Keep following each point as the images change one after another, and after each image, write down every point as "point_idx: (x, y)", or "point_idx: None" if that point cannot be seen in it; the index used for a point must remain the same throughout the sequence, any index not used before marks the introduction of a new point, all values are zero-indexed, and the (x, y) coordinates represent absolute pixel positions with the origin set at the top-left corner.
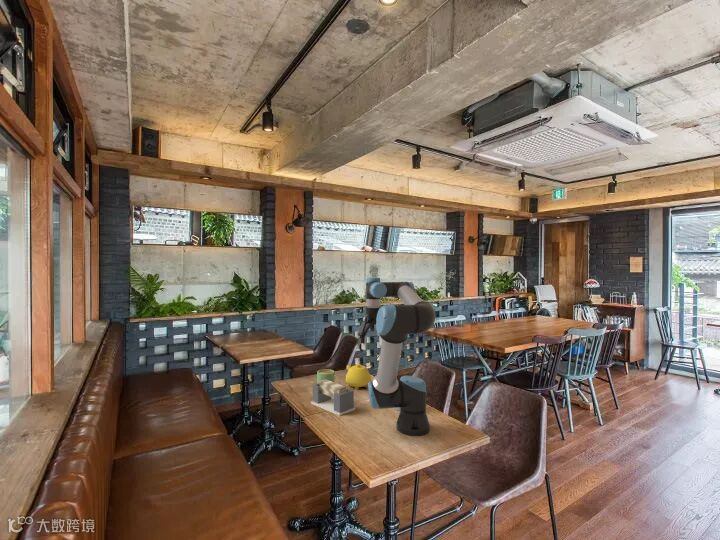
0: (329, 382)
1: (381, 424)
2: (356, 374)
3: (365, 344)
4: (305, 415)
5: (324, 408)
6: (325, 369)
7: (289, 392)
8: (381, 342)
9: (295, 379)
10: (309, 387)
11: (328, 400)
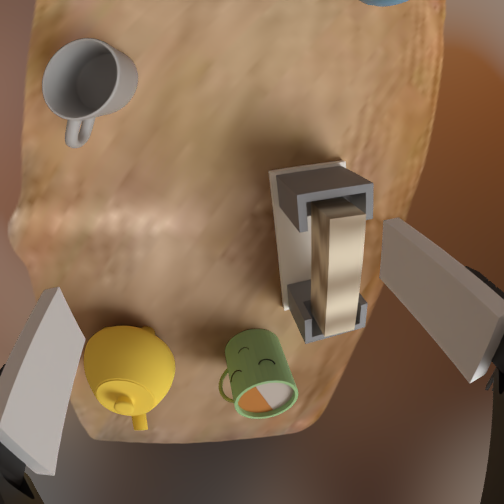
0: (341, 300)
1: (274, 15)
2: (148, 367)
3: (437, 249)
4: None
5: None
6: (252, 416)
7: (331, 376)
8: (60, 337)
9: (264, 434)
10: None
11: (301, 279)
